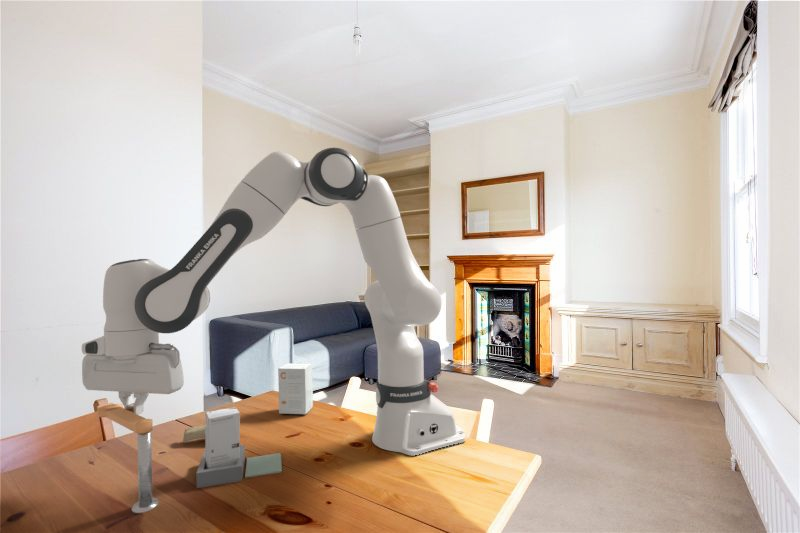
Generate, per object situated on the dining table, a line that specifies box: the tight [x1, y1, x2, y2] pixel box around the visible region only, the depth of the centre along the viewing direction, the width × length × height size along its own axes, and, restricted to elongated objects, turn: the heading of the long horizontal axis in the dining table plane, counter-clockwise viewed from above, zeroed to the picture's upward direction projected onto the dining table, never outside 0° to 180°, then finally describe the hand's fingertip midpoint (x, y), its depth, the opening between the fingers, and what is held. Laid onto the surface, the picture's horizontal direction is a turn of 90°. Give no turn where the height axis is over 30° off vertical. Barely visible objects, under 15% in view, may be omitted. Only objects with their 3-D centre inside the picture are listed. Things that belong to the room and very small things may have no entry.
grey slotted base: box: [195, 444, 246, 489], centre depth 81 cm, size 8×10×3 cm
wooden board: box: [96, 402, 153, 435], centre depth 74 cm, size 19×4×2 cm, turn 55°
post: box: [131, 430, 160, 514], centre depth 70 cm, size 4×4×13 cm
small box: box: [277, 362, 314, 415], centre depth 116 cm, size 8×6×13 cm
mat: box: [244, 452, 283, 479], centre depth 84 cm, size 7×8×1 cm
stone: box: [182, 423, 206, 443], centre depth 96 cm, size 11×6×5 cm, turn 117°
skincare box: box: [204, 406, 241, 469], centre depth 81 cm, size 6×4×12 cm
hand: (134, 413), depth 78 cm, fingers closed
